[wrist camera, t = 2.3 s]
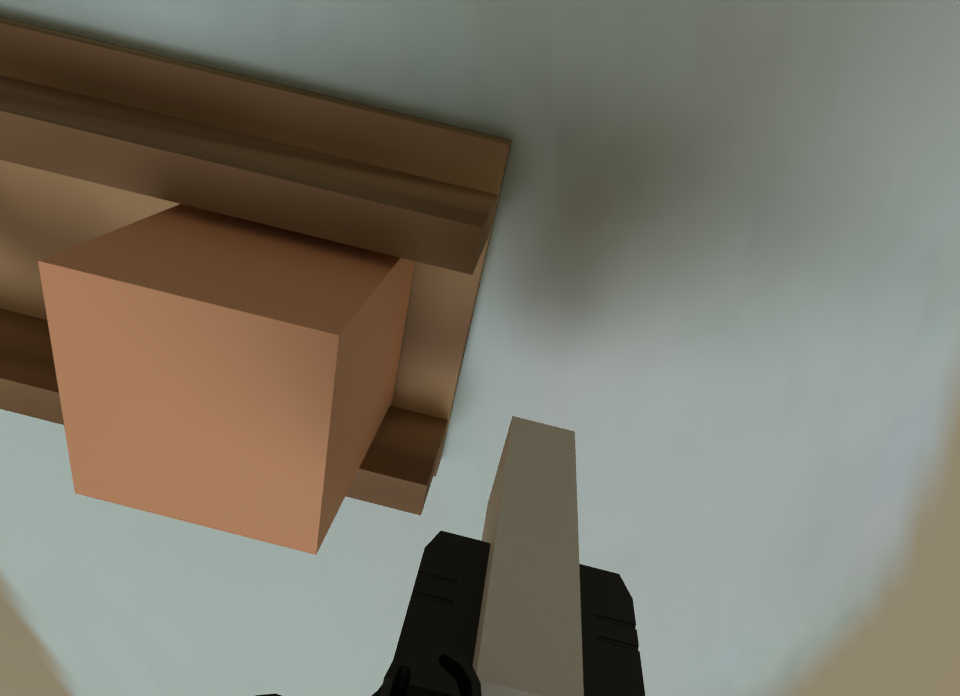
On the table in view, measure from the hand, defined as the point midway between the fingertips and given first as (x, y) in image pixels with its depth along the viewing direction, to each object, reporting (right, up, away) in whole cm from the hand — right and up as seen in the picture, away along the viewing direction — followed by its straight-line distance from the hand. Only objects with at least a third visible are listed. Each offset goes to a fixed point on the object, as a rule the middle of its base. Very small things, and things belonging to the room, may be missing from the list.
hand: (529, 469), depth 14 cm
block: (-6, +4, +5) cm, 9 cm away
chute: (-14, +7, +6) cm, 17 cm away
